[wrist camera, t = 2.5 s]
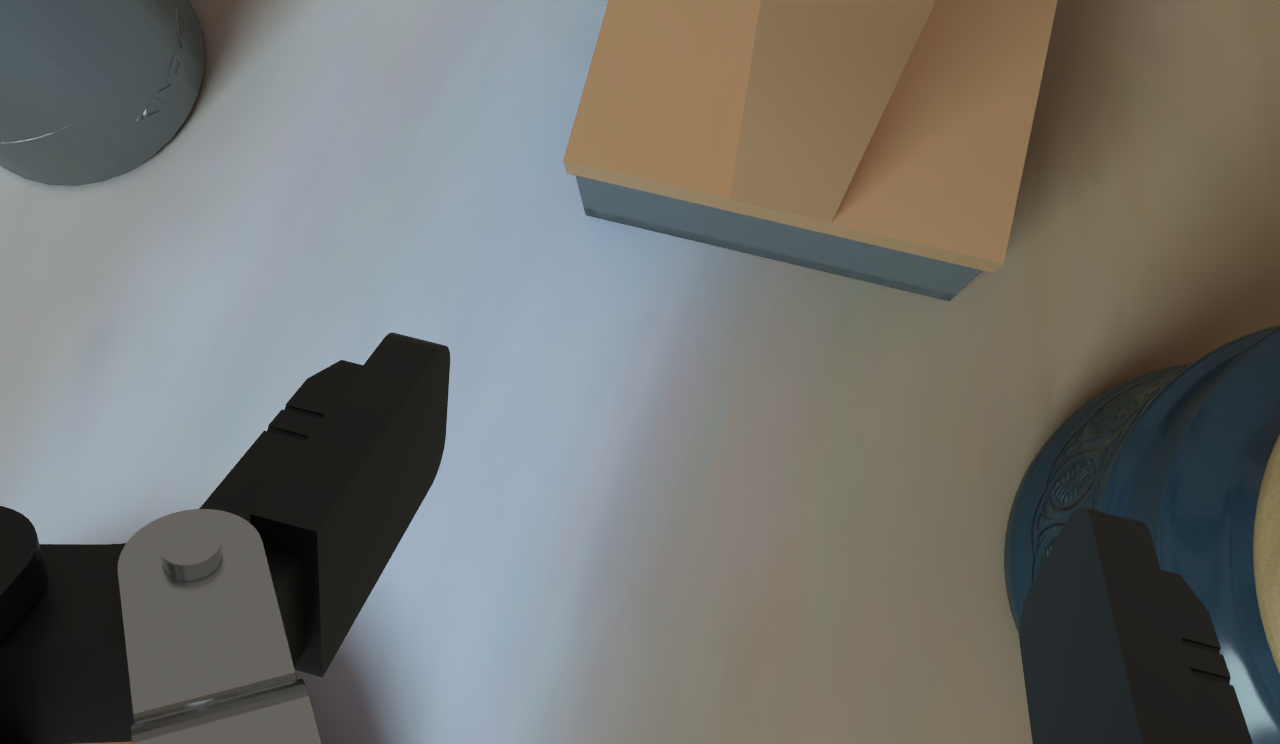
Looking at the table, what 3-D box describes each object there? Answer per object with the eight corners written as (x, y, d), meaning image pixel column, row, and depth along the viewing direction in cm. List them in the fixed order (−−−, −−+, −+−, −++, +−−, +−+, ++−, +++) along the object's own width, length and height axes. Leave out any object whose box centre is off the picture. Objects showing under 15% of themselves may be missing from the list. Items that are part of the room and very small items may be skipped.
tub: (585, 214, 37) (572, 161, 32) (694, -178, 39) (697, -283, 34) (949, 300, 36) (993, 259, 31) (1035, -107, 38) (1089, -206, 33)
